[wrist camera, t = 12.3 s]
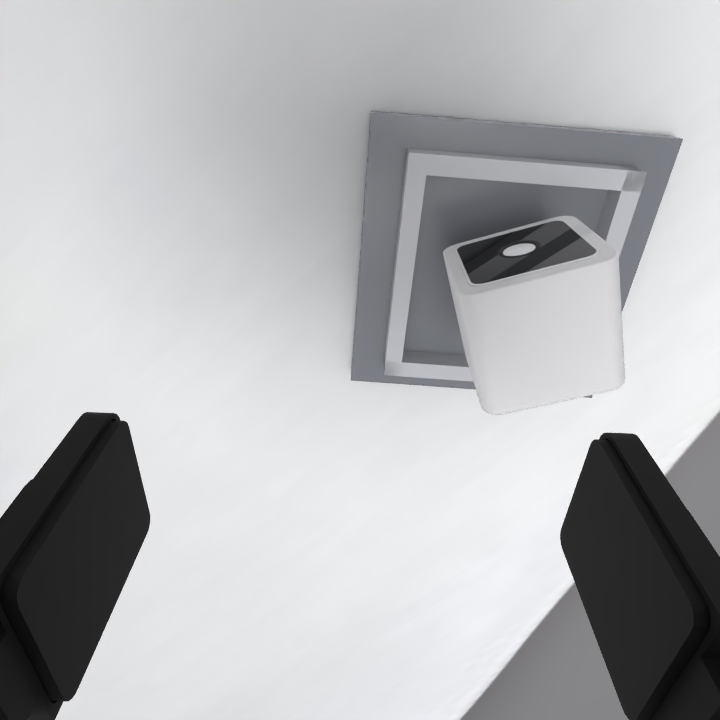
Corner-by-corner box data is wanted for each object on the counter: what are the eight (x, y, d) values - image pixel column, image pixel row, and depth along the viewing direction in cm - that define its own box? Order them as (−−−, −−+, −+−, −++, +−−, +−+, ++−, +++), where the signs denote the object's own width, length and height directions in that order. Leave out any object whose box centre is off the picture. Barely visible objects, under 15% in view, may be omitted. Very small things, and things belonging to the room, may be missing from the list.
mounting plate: (371, 111, 28) (371, 116, 25) (671, 135, 28) (698, 143, 26) (351, 370, 36) (350, 393, 33) (585, 387, 36) (599, 410, 34)
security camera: (548, 193, 29) (625, 254, 20) (561, 308, 32) (631, 402, 23) (433, 226, 30) (459, 297, 21) (457, 333, 33) (488, 433, 24)
